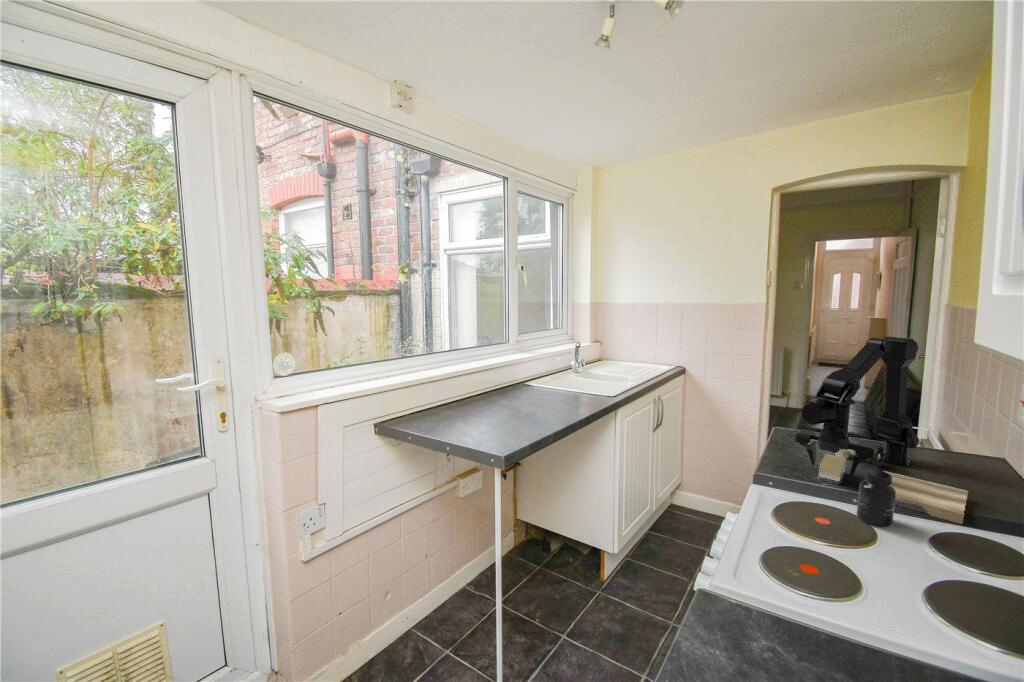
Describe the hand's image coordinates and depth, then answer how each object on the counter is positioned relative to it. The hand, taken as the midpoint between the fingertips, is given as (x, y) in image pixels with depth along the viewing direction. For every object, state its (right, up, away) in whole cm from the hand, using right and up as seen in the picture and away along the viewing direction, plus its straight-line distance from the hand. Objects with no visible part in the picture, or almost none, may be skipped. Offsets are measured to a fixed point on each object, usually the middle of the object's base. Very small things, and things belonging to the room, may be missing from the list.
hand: (832, 470), depth 130 cm
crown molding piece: (+13, -3, -14) cm, 19 cm away
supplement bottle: (-6, -6, -22) cm, 24 cm away
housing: (0, -2, 0) cm, 2 cm away
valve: (+15, 0, +11) cm, 18 cm away
